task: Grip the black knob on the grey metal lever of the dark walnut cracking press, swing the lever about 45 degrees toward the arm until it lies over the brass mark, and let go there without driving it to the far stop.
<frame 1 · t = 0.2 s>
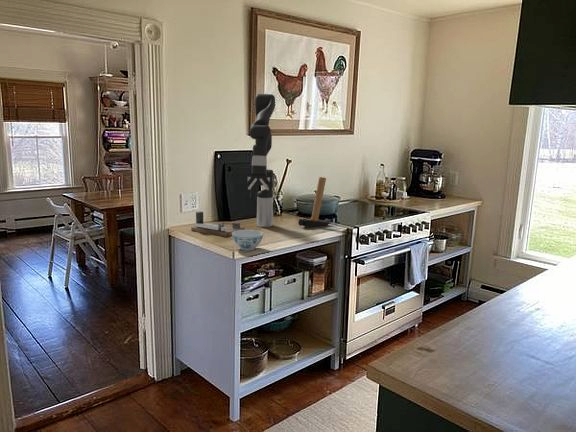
hand: (258, 197, 229), 22 cm above the kitchen counter, tool pointing down, fingers open, 8 cm apart
press base: (218, 230, 252), on the kitchen counter
lever: (210, 221, 246), point 7 cm above the kitchen counter, hinge at 0.0°
chinaware: (247, 249, 217), on the kitchen counter
hammer: (314, 227, 270), on the kitchen counter
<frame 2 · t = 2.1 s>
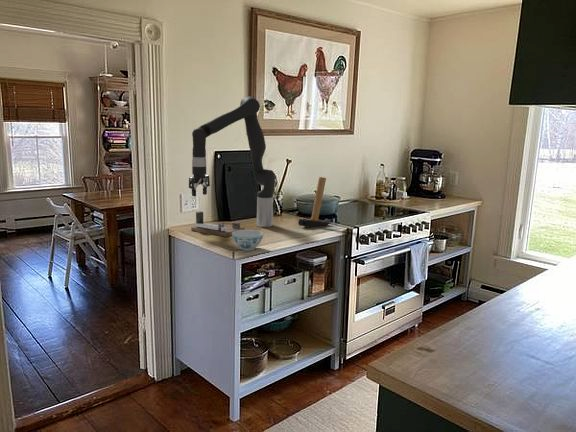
hand: (199, 195, 247), 20 cm above the kitchen counter, tool pointing down, fingers open, 8 cm apart
nothing on the kitchen counter moved.
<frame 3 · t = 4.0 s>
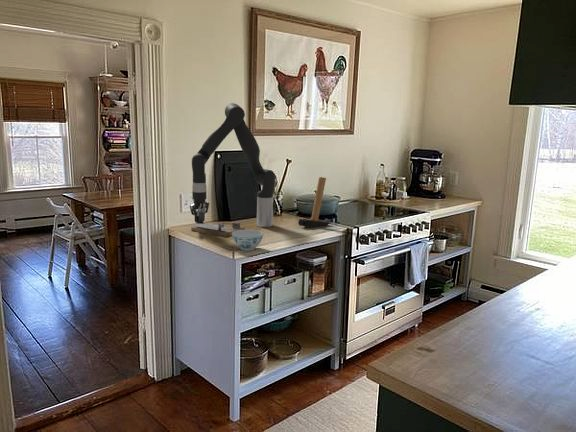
hand: (199, 221, 250), 5 cm above the kitchen counter, tool pointing down, fingers closed on lever, 4 cm apart
lever: (210, 221, 246), point 7 cm above the kitchen counter, hinge at 0.0°, touching gripper
everything else where it was.
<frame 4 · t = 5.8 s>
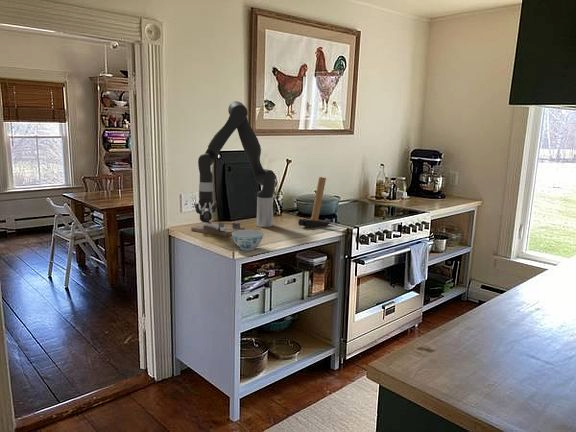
hand: (205, 220, 254), 5 cm above the kitchen counter, tool pointing down, fingers closed on lever, 4 cm apart
lever: (213, 220, 248), point 7 cm above the kitchen counter, hinge at 16.6°, touching gripper
everything else where it was.
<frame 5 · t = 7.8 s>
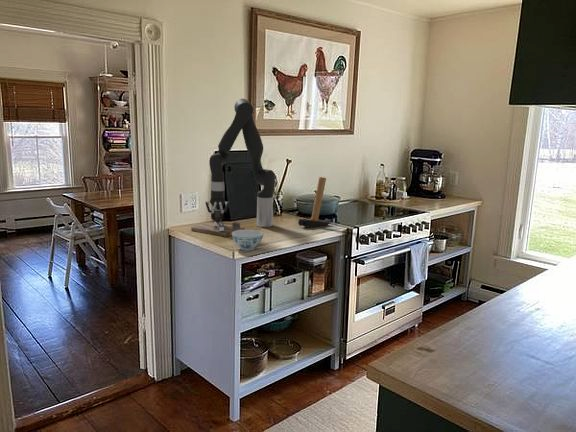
hand: (217, 219, 257), 5 cm above the kitchen counter, tool pointing down, fingers closed on lever, 4 cm apart
lever: (219, 220, 250), point 6 cm above the kitchen counter, hinge at 42.8°, touching gripper
everything else where it was.
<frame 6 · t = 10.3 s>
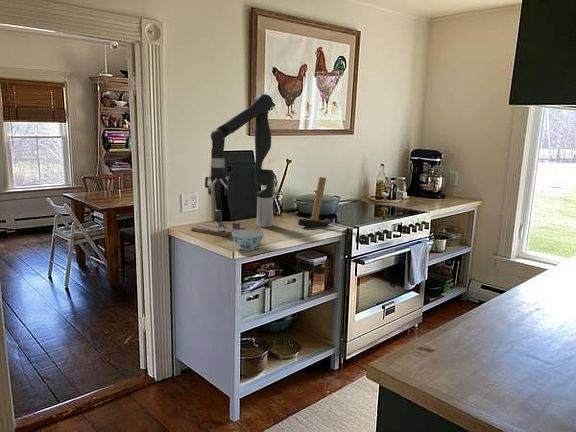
hand: (218, 195, 255), 19 cm above the kitchen counter, tool pointing down, fingers open, 8 cm apart
lever: (219, 220, 250), point 7 cm above the kitchen counter, hinge at 44.1°
everything else where it was.
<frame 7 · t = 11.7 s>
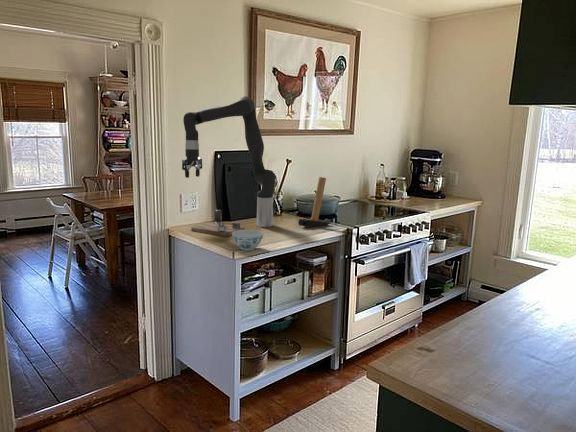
hand: (192, 177, 260), 28 cm above the kitchen counter, tool pointing down, fingers open, 8 cm apart
nothing on the kitchen counter moved.
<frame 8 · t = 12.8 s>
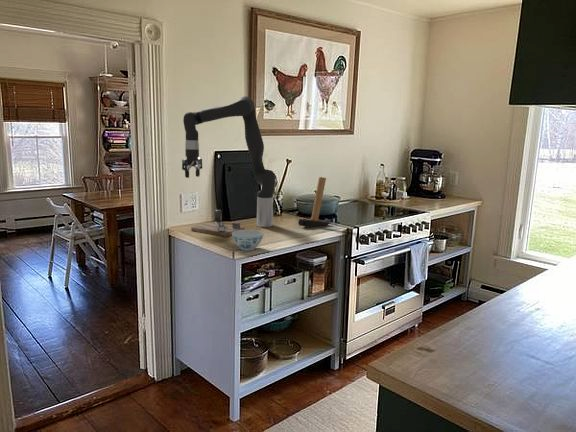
hand: (192, 177, 260), 28 cm above the kitchen counter, tool pointing down, fingers open, 8 cm apart
nothing on the kitchen counter moved.
at the end: lever at +44° (first picture: +0°); the gripper is holding nothing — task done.
